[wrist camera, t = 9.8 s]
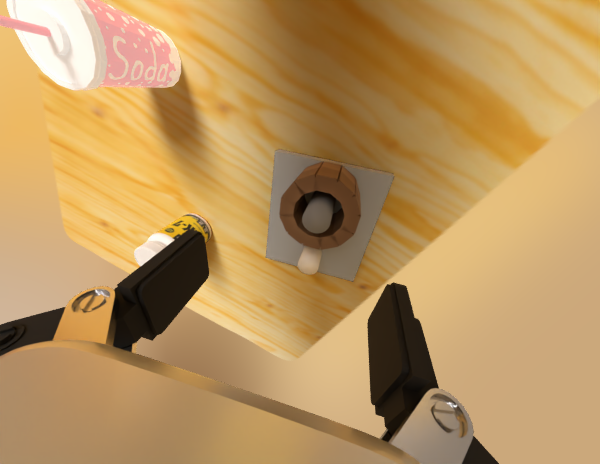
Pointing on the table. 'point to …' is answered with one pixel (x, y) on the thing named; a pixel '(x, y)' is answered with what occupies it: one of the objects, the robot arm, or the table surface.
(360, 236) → the post board
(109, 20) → the beverage cup
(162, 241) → the supplement bottle
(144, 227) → the table surface
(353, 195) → the ring
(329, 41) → the table surface
